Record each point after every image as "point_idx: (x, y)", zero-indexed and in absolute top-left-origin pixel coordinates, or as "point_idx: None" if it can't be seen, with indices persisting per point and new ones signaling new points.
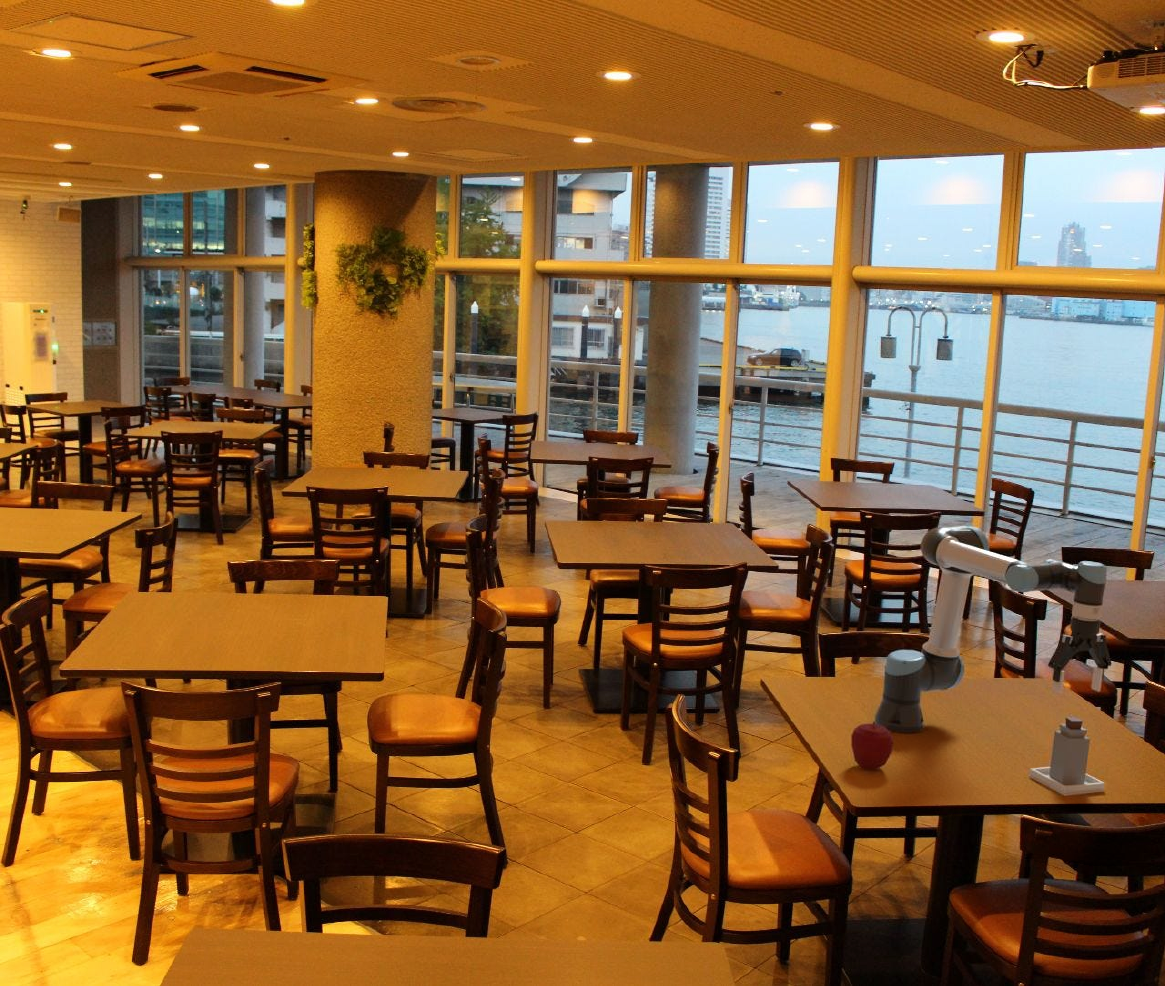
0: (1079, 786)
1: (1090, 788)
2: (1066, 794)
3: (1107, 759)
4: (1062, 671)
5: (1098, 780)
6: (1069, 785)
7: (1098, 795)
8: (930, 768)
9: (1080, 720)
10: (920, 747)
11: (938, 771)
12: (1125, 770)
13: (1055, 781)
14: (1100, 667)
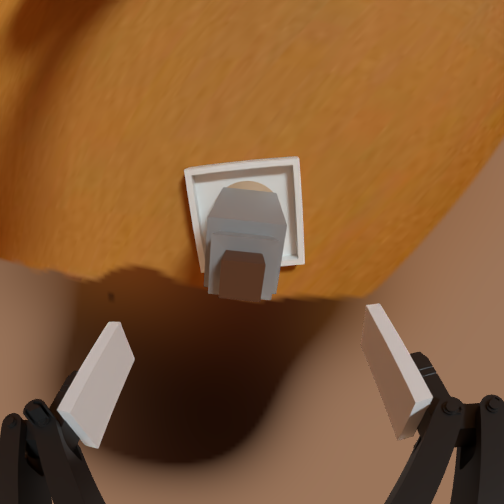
0: None
1: None
2: None
3: (432, 112)
4: (86, 445)
5: (301, 250)
6: None
7: None
8: (31, 126)
9: (258, 294)
10: (65, 22)
11: (36, 139)
12: (426, 169)
13: (198, 244)
14: (420, 426)
